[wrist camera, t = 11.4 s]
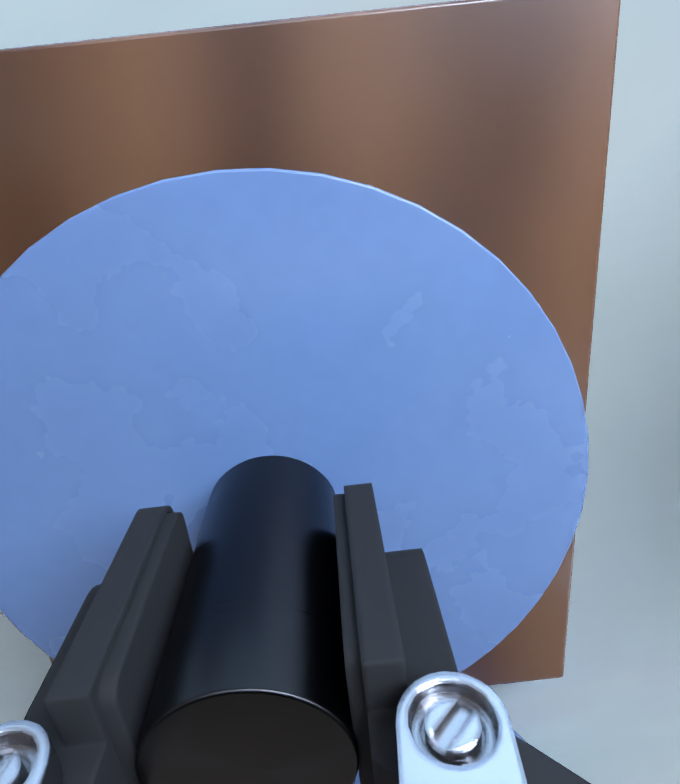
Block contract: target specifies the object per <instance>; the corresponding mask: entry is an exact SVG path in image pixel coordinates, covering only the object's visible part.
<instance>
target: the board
mask: <svg viewBox="0 0 680 784" xmlns="http://www.w3.org/2000/svg"><path fill="white" fill-rule="evenodd" d="M619 12H620V0H458V1H449V2H440V3H430V4H421V5H412V6H402V7H393V8H383V9H374V10H365V11H355V12H346V13H337V14H327V15H318V16H308V17H299V18H290V19H280V20H271V21H261V22H252V23H243V24H233V25H224V26H215V27H205V28H196V29H186V30H177V31H168V32H158V33H149V34H140V35H130V36H121V37H111V38H102V39H93V40H83V41H74V42H64V43H55V44H46V45H36V46H27V47H18V48H8V49H0V276H1V275H2V274H3V273H4V272H5V271H6V270H7V269H8V268H9V267H10V266H11V265H12V264H13V263H14V262H15V261H16V260H17V259H18V258H19V257H20V256H21V255H22V254H23V253H24V252H25V251H26V250H27V249H28V248H29V247H30V246H32V245H33V244H35V243H36V242H37V241H39V240H40V239H41V238H43V237H44V236H46V235H47V234H48V233H50V232H51V231H52V230H54V229H55V228H57V227H58V226H59V225H61V224H62V223H63V222H65V221H66V220H68V219H69V218H71V217H73V216H75V215H77V214H79V213H81V212H83V211H85V210H87V209H89V208H91V207H93V206H95V205H97V204H99V203H101V202H103V201H105V200H106V199H108V198H110V197H112V196H115V195H118V194H121V193H124V192H127V191H130V190H133V189H136V188H139V187H142V186H145V185H148V184H151V183H154V182H157V181H160V180H163V179H168V178H174V177H179V176H185V175H190V174H196V173H201V172H207V171H212V170H219V169H246V168H279V169H289V170H299V171H308V172H318V173H324V174H328V175H332V176H336V177H340V178H344V179H348V180H352V181H356V182H360V183H364V184H368V185H371V186H374V187H376V188H379V189H381V190H384V191H386V192H389V193H391V194H394V195H396V196H399V197H401V198H404V199H406V200H409V201H411V202H413V203H416V204H418V205H421V206H422V207H424V208H426V209H427V210H429V211H431V212H433V213H434V214H436V215H438V216H439V217H441V218H443V219H445V220H446V221H448V222H450V223H452V224H453V225H455V226H457V227H458V228H460V229H462V230H463V231H465V232H466V233H467V234H468V235H470V236H471V237H472V238H473V239H475V240H476V241H477V242H479V243H480V244H481V245H482V246H484V247H485V248H486V249H487V250H489V251H490V252H491V253H492V254H494V255H495V256H496V257H497V258H499V259H500V260H501V261H502V262H503V263H504V264H505V265H506V267H507V268H508V269H509V270H510V271H511V272H512V273H513V274H514V275H515V276H516V277H517V278H518V279H519V280H520V282H521V283H522V284H523V285H524V286H525V287H526V288H527V289H528V290H529V291H530V292H531V294H532V295H533V297H534V298H535V300H536V301H537V302H538V304H539V305H540V307H541V308H542V310H543V311H544V313H545V314H546V316H547V317H548V319H549V320H550V321H551V323H552V324H553V326H554V327H555V329H556V331H557V333H558V336H559V338H560V340H561V342H562V344H563V346H564V348H565V350H566V352H567V354H568V356H569V359H570V361H571V363H572V365H573V369H574V372H575V375H576V379H577V382H578V385H579V389H580V392H581V395H582V399H583V403H584V410H585V411H586V400H587V388H588V376H589V364H590V353H591V341H592V329H593V317H594V306H595V294H596V282H597V270H598V258H599V247H600V235H601V223H602V211H603V200H604V188H605V176H606V164H607V153H608V141H609V129H610V117H611V106H612V94H613V82H614V70H615V59H616V47H617V35H618V23H619ZM574 541H575V533H574V536H573V539H572V542H571V544H570V546H569V549H568V551H567V553H566V555H565V557H564V559H563V561H562V563H561V565H560V567H559V569H558V572H557V573H556V575H555V576H554V578H553V579H552V581H551V582H550V584H549V586H548V587H547V589H546V590H545V592H544V593H543V595H542V596H541V598H540V599H539V601H538V602H537V603H536V604H535V606H534V607H533V608H532V609H531V610H530V611H529V613H528V614H527V615H526V616H525V617H524V619H523V620H522V621H521V622H520V623H519V625H518V626H517V627H516V628H515V629H513V630H512V631H511V632H510V633H509V634H508V635H507V636H506V637H505V638H504V639H503V640H502V641H501V642H500V643H499V644H498V645H496V646H495V647H494V648H493V649H492V650H491V651H489V652H488V653H487V654H485V655H484V656H483V657H481V658H480V659H479V660H477V661H476V662H475V663H473V664H472V665H471V666H469V667H468V668H466V669H465V670H463V671H461V672H460V673H463V674H466V675H469V676H472V677H474V678H477V679H479V680H480V681H481V682H483V683H484V684H486V685H487V686H488V685H497V684H506V683H514V682H523V681H532V680H541V679H550V678H559V677H562V676H563V670H564V658H565V646H566V635H567V623H568V611H569V599H570V588H571V576H572V564H573V552H574ZM49 657H50V656H49ZM50 659H51V662H52V663H53V661H54V659H53V658H51V657H50Z"/></svg>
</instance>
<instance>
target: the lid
mask: <svg viewBox="0 0 680 784" xmlns="http://www.w3.org/2000/svg"><path fill="white" fill-rule="evenodd" d="M587 477H588V432H587V425H586V418H585V410H584V403H583V399H582V395H581V392H580V389H579V385H578V382H577V379H576V375H575V372H574V369H573V365H572V363H571V361H570V359H569V356H568V354H567V352H566V350H565V348H564V346H563V344H562V342H561V340H560V338H559V336H558V333H557V331H556V329H555V327H554V326H553V324H552V323H551V321H550V320H549V319H548V317H547V316H546V314H545V313H544V311H543V310H542V308H541V307H540V305H539V304H538V302H537V301H536V300H535V298H534V297H533V295H532V294H531V292H530V291H529V290H528V289H527V288H526V287H525V286H524V285H523V284H522V283H521V282H520V280H519V279H518V278H517V277H516V276H515V275H514V274H513V273H512V272H511V271H510V270H509V269H508V268H507V267H506V265H505V264H504V263H503V262H502V261H501V260H500V259H499V258H497V257H496V256H495V255H494V254H492V253H491V252H490V251H489V250H487V249H486V248H485V247H484V246H482V245H481V244H480V243H479V242H477V241H476V240H475V239H473V238H472V237H471V236H470V235H468V234H467V233H466V232H465V231H463V230H462V229H460V228H458V227H457V226H455V225H453V224H452V223H450V222H448V221H446V220H445V219H443V218H441V217H439V216H438V215H436V214H434V213H433V212H431V211H429V210H427V209H426V208H424V207H422V206H421V205H418V204H416V203H413V202H411V201H409V200H406V199H404V198H401V197H399V196H396V195H394V194H391V193H389V192H386V191H384V190H381V189H379V188H376V187H374V186H371V185H368V184H364V183H360V182H356V181H352V180H348V179H344V178H340V177H336V176H332V175H328V174H324V173H318V172H308V171H299V170H289V169H279V168H246V169H219V170H212V171H207V172H201V173H196V174H190V175H185V176H179V177H174V178H168V179H163V180H160V181H157V182H154V183H151V184H148V185H145V186H142V187H139V188H136V189H133V190H130V191H127V192H124V193H121V194H118V195H115V196H112V197H110V198H108V199H106V200H105V201H103V202H101V203H99V204H97V205H95V206H93V207H91V208H89V209H87V210H85V211H83V212H81V213H79V214H77V215H75V216H73V217H71V218H69V219H68V220H66V221H65V222H63V223H62V224H61V225H59V226H58V227H57V228H55V229H54V230H52V231H51V232H50V233H48V234H47V235H46V236H44V237H43V238H41V239H40V240H39V241H37V242H36V243H35V244H33V245H32V246H30V247H29V248H28V249H27V250H26V251H25V252H24V253H23V254H22V255H21V256H20V257H19V258H18V259H17V260H16V261H15V262H14V263H13V264H12V265H11V266H10V267H9V268H8V269H7V270H6V271H5V272H4V273H3V274H2V275H1V276H0V611H1V612H2V613H3V614H4V615H5V616H6V617H7V618H8V619H9V620H10V621H11V622H12V623H13V624H14V625H15V626H16V627H17V628H18V629H19V631H20V632H21V633H22V634H24V635H25V636H26V637H27V638H28V639H30V640H31V641H32V642H33V643H34V644H36V645H37V646H38V647H39V648H40V649H41V650H43V651H44V652H45V653H46V654H47V655H49V656H50V657H51V658H53V659H55V657H56V655H57V653H58V651H59V649H60V647H61V645H62V643H63V642H64V640H65V638H66V636H67V634H68V632H69V630H70V628H71V626H72V624H73V622H74V620H75V618H76V616H77V614H78V612H79V610H80V608H81V606H82V604H83V602H84V600H85V598H86V596H87V595H88V593H89V592H90V590H91V589H92V588H93V587H94V586H96V585H100V584H101V583H102V581H103V579H104V577H105V575H106V573H107V571H108V569H109V567H110V565H111V563H112V561H113V559H114V557H115V555H116V553H117V551H118V549H119V547H120V544H121V542H122V540H123V538H124V536H125V534H126V532H127V530H128V528H129V526H130V524H131V522H132V520H133V518H134V516H135V514H136V512H137V511H138V510H139V509H142V508H151V507H160V506H168V505H169V506H171V507H172V509H173V511H174V513H175V512H181V513H182V514H183V516H184V519H185V523H186V526H187V530H188V534H189V538H190V542H191V546H192V550H193V558H192V561H191V565H190V568H189V571H188V575H187V578H186V582H185V585H184V588H183V592H182V595H181V599H180V602H179V606H178V609H177V612H176V616H175V619H174V623H173V626H172V629H171V633H170V636H169V640H168V643H167V646H166V650H165V653H164V657H163V660H162V663H161V667H160V670H159V674H158V677H157V681H156V684H155V687H154V691H153V694H152V698H151V701H150V704H149V708H148V711H147V715H146V718H145V721H144V725H143V728H142V732H141V735H140V738H139V742H138V745H137V749H136V755H135V767H136V774H137V777H138V781H139V783H140V784H354V781H355V778H356V776H357V773H358V768H359V747H358V742H357V738H356V736H355V733H354V731H353V725H352V718H351V710H350V703H349V695H348V688H347V680H346V671H345V661H344V650H343V635H342V621H341V606H340V591H339V576H338V561H337V546H336V531H335V516H334V501H333V495H334V494H343V493H344V486H346V485H355V484H364V483H372V487H373V492H374V497H375V503H376V508H377V513H378V519H379V524H380V529H381V535H382V540H383V545H384V550H385V552H391V551H400V550H409V549H418V548H422V550H423V552H424V555H425V558H426V562H427V565H428V569H429V572H430V576H431V579H432V583H433V586H434V590H435V593H436V597H437V600H438V604H439V607H440V611H441V614H442V617H443V621H444V624H445V628H446V631H447V635H448V638H449V642H450V645H451V649H452V652H453V656H454V659H455V663H456V666H457V670H458V672H459V673H460V672H461V671H463V670H465V669H466V668H468V667H469V666H471V665H472V664H473V663H475V662H476V661H477V660H479V659H480V658H481V657H483V656H484V655H485V654H487V653H488V652H489V651H491V650H492V649H493V648H494V647H495V646H496V645H498V644H499V643H500V642H501V641H502V640H503V639H504V638H505V637H506V636H507V635H508V634H509V633H510V632H511V631H512V630H513V629H515V628H516V627H517V626H518V625H519V623H520V622H521V621H522V620H523V619H524V617H525V616H526V615H527V614H528V613H529V611H530V610H531V609H532V608H533V607H534V606H535V604H536V603H537V602H538V601H539V599H540V598H541V596H542V595H543V593H544V592H545V590H546V589H547V587H548V586H549V584H550V582H551V581H552V579H553V578H554V576H555V575H556V573H557V572H558V569H559V567H560V565H561V563H562V561H563V559H564V557H565V555H566V553H567V551H568V549H569V546H570V544H571V542H572V539H573V536H574V533H575V530H576V527H577V524H578V520H579V517H580V514H581V511H582V507H583V501H584V495H585V489H586V483H587Z"/></svg>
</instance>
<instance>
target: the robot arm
mask: <svg viewBox="0 0 680 784" xmlns="http://www.w3.org/2000/svg"><path fill="white" fill-rule="evenodd" d="M333 501H334V516H335V531H336V546H337V561H338V576H339V591H340V606H341V621H342V635H343V650H344V661H345V671H346V680H347V688H348V695H349V703H350V710H351V718H352V725H353V731H354V733H355V736H356V738H357V742H358V747H359V768H358V771H359V778H360V784H590V783H589V782H587V781H586V780H584V779H583V778H581V777H579V776H578V775H576V774H575V773H573V772H572V771H570V770H569V769H567V768H565V767H564V766H562V765H561V764H559V763H558V762H556V761H554V760H553V759H551V758H550V757H548V756H547V755H545V754H543V753H542V752H540V751H539V750H537V749H536V748H534V747H533V746H531V745H529V744H528V743H526V742H525V741H523V740H522V739H520V738H518V737H517V736H515V735H514V731H513V727H512V724H511V720H510V717H509V715H508V712H507V710H506V708H505V706H504V703H503V702H502V700H501V699H500V698H499V697H498V696H497V694H496V693H495V692H494V691H493V690H492V688H490V687H489V686H487V685H486V684H484V683H483V682H481V681H480V680H479V679H477V678H474V677H472V676H469V675H466V674H463V673H459V672H458V670H457V666H456V663H455V659H454V656H453V652H452V649H451V645H450V642H449V638H448V635H447V631H446V628H445V624H444V621H443V617H442V614H441V611H440V607H439V604H438V600H437V597H436V593H435V590H434V586H433V583H432V579H431V576H430V572H429V569H428V565H427V562H426V558H425V555H424V552H423V550H422V548H418V549H409V550H400V551H391V552H385V550H384V545H383V540H382V535H381V529H380V524H379V519H378V513H377V508H376V503H375V497H374V492H373V487H372V483H364V484H355V485H346V486H344V493H343V494H334V495H333ZM192 558H193V550H192V546H191V542H190V538H189V534H188V530H187V526H186V523H185V519H184V516H183V514H182V513H181V512H175V513H174V511H173V509H172V507H171V506H169V505H168V506H160V507H151V508H142V509H139V510H138V511H137V512H136V514H135V516H134V518H133V520H132V522H131V524H130V526H129V528H128V530H127V532H126V534H125V536H124V538H123V540H122V542H121V544H120V547H119V549H118V551H117V553H116V555H115V557H114V559H113V561H112V563H111V565H110V567H109V569H108V571H107V573H106V575H105V577H104V579H103V581H102V583H101V584H100V585H96V586H94V587H93V588H92V589H91V590H90V592H89V593H88V595H87V596H86V598H85V600H84V602H83V604H82V606H81V608H80V610H79V612H78V614H77V616H76V618H75V620H74V622H73V624H72V626H71V628H70V630H69V632H68V634H67V636H66V638H65V640H64V642H63V643H62V645H61V647H60V649H59V651H58V653H57V655H56V657H55V659H54V661H53V663H52V665H51V667H50V669H49V671H48V673H47V675H46V677H45V679H44V681H43V683H42V685H41V687H40V689H39V691H38V693H37V695H36V696H35V698H34V700H33V702H32V704H31V706H30V708H29V710H28V712H27V714H26V716H25V718H24V720H21V721H10V722H6V723H3V724H0V784H140V783H139V781H138V777H137V774H136V767H135V755H136V749H137V745H138V742H139V738H140V735H141V732H142V728H143V725H144V721H145V718H146V715H147V711H148V708H149V704H150V701H151V698H152V694H153V691H154V687H155V684H156V681H157V677H158V674H159V670H160V667H161V663H162V660H163V657H164V653H165V650H166V646H167V643H168V640H169V636H170V633H171V629H172V626H173V623H174V619H175V616H176V612H177V609H178V606H179V602H180V599H181V595H182V592H183V588H184V585H185V582H186V578H187V575H188V571H189V568H190V565H191V561H192Z"/></svg>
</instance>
